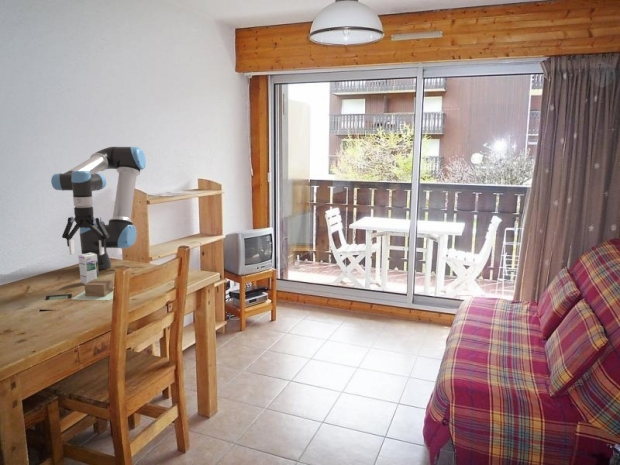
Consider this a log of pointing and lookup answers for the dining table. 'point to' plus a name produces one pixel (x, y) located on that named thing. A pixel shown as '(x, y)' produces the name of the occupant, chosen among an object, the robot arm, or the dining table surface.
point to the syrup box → (88, 267)
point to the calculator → (53, 297)
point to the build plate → (83, 297)
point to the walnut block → (99, 287)
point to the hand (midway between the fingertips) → (87, 254)
